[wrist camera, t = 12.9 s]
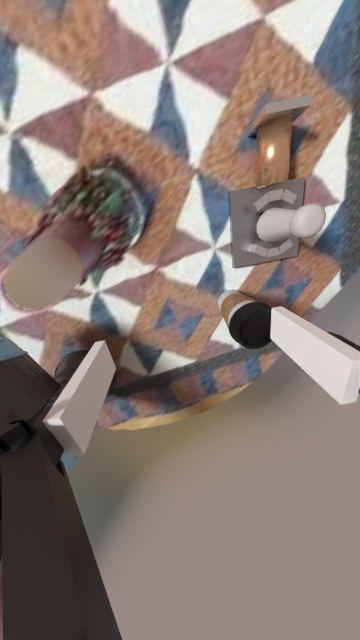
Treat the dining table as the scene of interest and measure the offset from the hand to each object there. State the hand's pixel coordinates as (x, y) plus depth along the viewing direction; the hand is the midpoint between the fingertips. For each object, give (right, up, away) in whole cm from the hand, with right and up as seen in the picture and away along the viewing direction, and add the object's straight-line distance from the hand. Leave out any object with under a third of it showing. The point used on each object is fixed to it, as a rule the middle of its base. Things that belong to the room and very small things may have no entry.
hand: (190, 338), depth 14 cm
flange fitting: (+16, +25, +21) cm, 36 cm away
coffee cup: (+11, +6, +30) cm, 32 cm away
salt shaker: (+16, +20, +22) cm, 34 cm away
